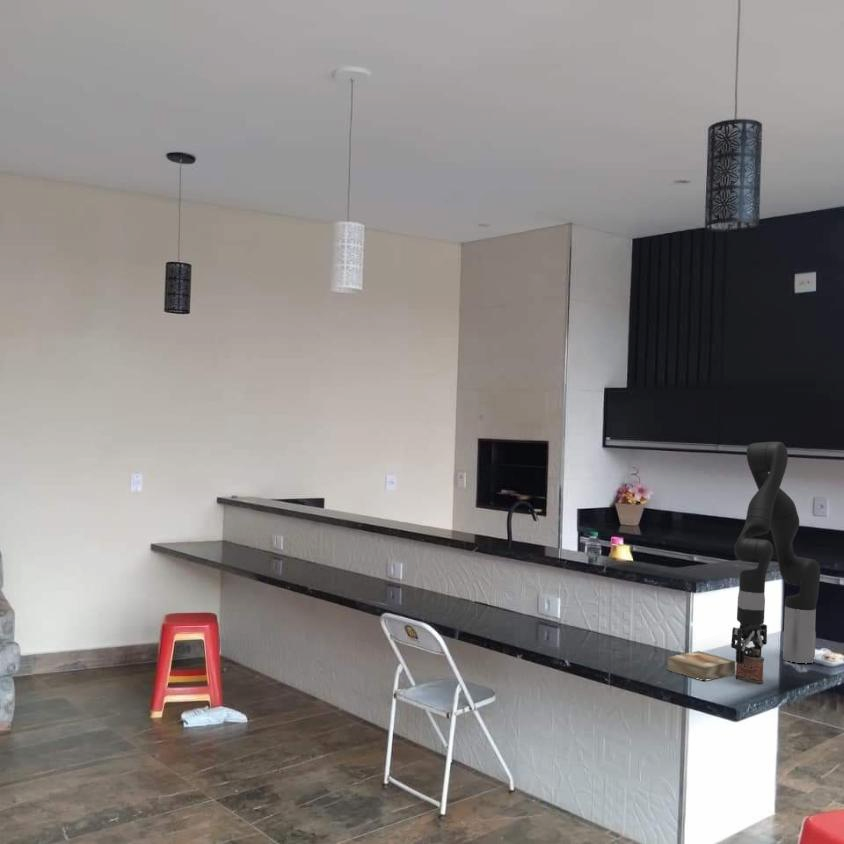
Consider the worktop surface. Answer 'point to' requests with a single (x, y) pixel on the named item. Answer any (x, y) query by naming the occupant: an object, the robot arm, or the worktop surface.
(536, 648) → the worktop surface
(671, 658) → the dock
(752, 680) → the lighter
